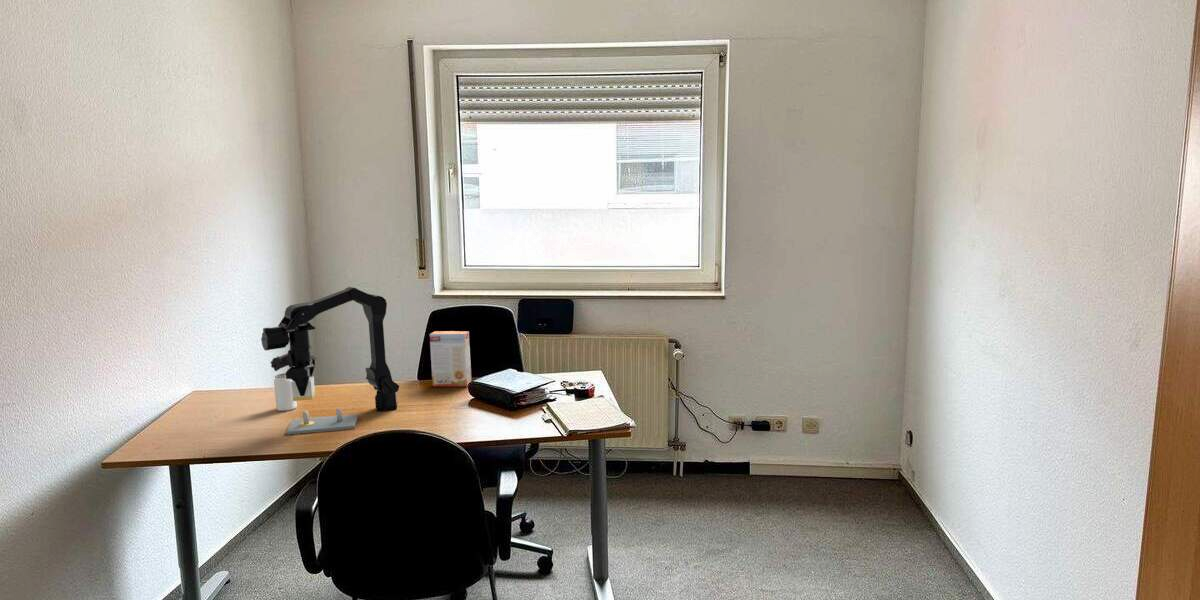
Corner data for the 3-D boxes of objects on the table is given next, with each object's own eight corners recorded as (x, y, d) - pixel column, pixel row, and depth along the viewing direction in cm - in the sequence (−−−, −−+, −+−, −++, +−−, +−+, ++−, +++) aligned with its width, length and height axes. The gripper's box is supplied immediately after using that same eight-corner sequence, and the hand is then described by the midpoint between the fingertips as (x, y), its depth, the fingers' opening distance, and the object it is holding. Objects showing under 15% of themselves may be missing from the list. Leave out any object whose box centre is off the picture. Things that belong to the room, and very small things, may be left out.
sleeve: (315, 394, 216) (313, 376, 215) (312, 399, 210) (310, 381, 209) (296, 396, 214) (294, 377, 213) (293, 401, 209) (291, 382, 208)
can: (289, 412, 229) (285, 378, 228) (272, 411, 231) (269, 377, 229) (300, 406, 236) (298, 373, 234) (284, 405, 237) (281, 372, 235)
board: (358, 416, 223) (357, 402, 222) (354, 428, 212) (353, 413, 211) (293, 422, 218) (292, 407, 217) (286, 435, 207) (284, 419, 206)
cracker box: (472, 383, 262) (469, 330, 259) (467, 387, 256) (464, 333, 253) (437, 382, 264) (434, 330, 260) (432, 386, 258) (429, 333, 255)
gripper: (277, 340, 217) (282, 387, 219) (265, 353, 199) (270, 404, 201) (314, 338, 219) (318, 384, 222) (305, 350, 201) (309, 400, 204)
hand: (304, 393), depth 212 cm, fingers closed on sleeve, 6 cm apart
